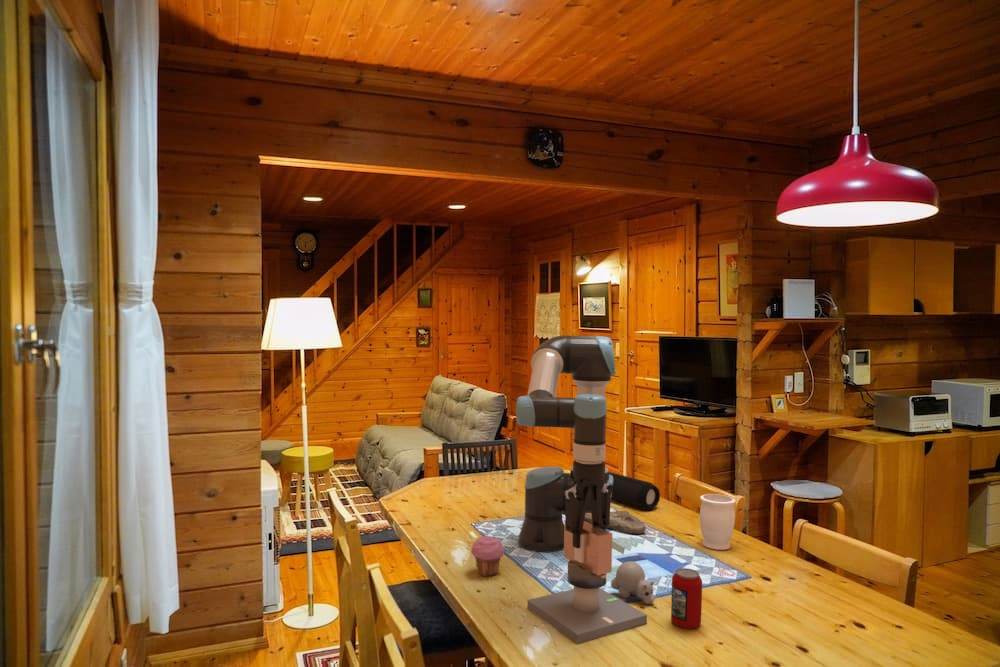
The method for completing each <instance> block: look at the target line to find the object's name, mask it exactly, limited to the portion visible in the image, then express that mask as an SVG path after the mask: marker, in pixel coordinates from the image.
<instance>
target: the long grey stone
mask: <svg viewBox="0 0 1000 667" xmlns="http://www.w3.org/2000/svg"><path fill="white" fill-rule="evenodd" d="M562 514H565V512H562ZM604 520H605V519H604ZM584 521H586V522H588V523H590V524H592V525H593V521H592V514H591V513H585V518H584ZM644 523H645V522H644V521H641V520H640V519H639V518H638V517H636V516H634V515H632V514H631V513H630V512H629V511H628V510H620V511H619V510H616V511H610V523H609V526H608V527H604V528H606V529H609V528H610V529H609V530H614V531H616V530H618V531H617V532H619V531H621V532H620V533H622V532H623V533H627V532H628V534H635V535H640V534H643V533H644V532H646V529H647V527H646V525H645V524H644Z"/></svg>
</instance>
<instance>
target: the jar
mask: <svg viewBox="0 0 1000 667" xmlns="http://www.w3.org/2000/svg"><path fill="white" fill-rule="evenodd" d="M700 501H701V504H700V510H699V523H700V531H701V534H702V537H703V541H702V546H704V547H705V548H708V549H710V550H714V549H715V551H725V550H729V549H731V544H730V541H731V540H732V537H733V533H734V527H735V521H736V517H735V516H736V514H735V508H734V505H736V499H735V498H733V497H731V496H728V495H724V494H718V493H708V494H703V495H700Z"/></svg>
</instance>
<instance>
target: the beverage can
mask: <svg viewBox="0 0 1000 667" xmlns="http://www.w3.org/2000/svg"><path fill="white" fill-rule="evenodd" d="M702 601H703V580H702V578H701V576H700V573H699V571H697V570H695V569H693V568H686V567H685V568H684V567H682V568H677V569H676V570H675V573H674V574H673V575H672V577H671V602H670V603H671V605H670V608H671V610H670V611H671V612H670V619H671V621H672V622H673V623H674V624H675V625H676V626H678V627H680V628H683V629H695V628H697V627H698V626H700V625H701V623H702V605H703V602H702Z"/></svg>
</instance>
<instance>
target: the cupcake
mask: <svg viewBox="0 0 1000 667" xmlns="http://www.w3.org/2000/svg"><path fill="white" fill-rule="evenodd" d="M504 554H505V548H504V544H503V542H502V541H501V540H499V539H498V538H496V537H494V536H485V535H484V536H481V537H477V538H476V540H475V541H474V543H473V545H472V547H471V555H472V556H473V557H474V559H475V561H476V568H477V570H478V573H479V574H480V575H481V576H483V577H487V576H493V575H497V574H498V573H499V571H500V569H499V568H500V562H501V558H502V557H503V556H504Z"/></svg>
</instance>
